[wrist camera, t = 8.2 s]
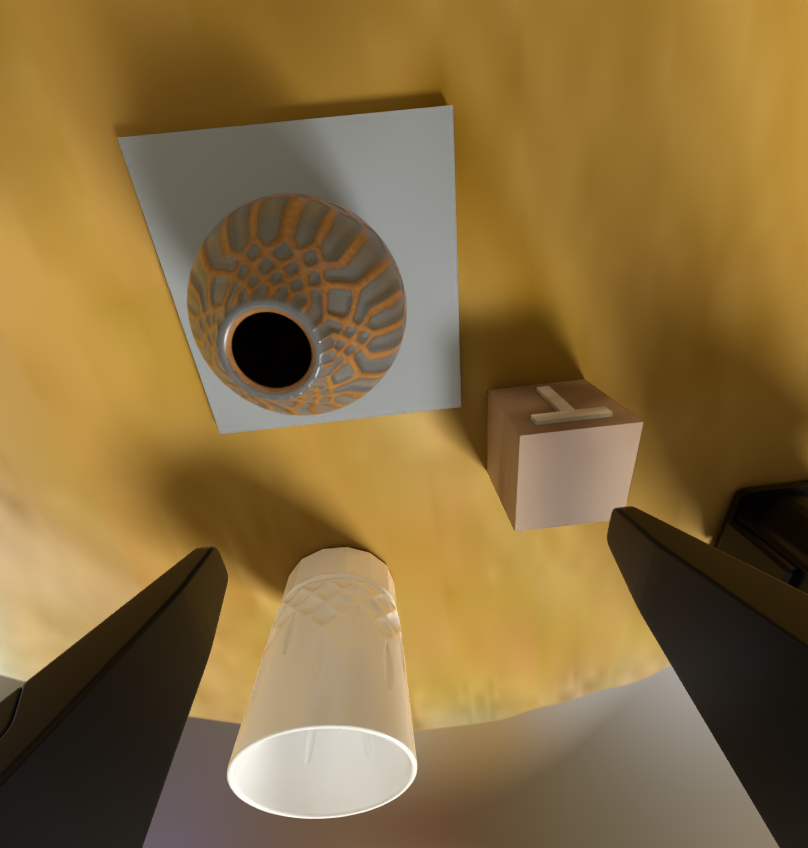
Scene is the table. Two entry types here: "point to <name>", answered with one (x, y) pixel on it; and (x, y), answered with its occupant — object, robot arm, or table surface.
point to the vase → (296, 304)
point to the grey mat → (340, 183)
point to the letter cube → (559, 453)
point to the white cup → (329, 696)
